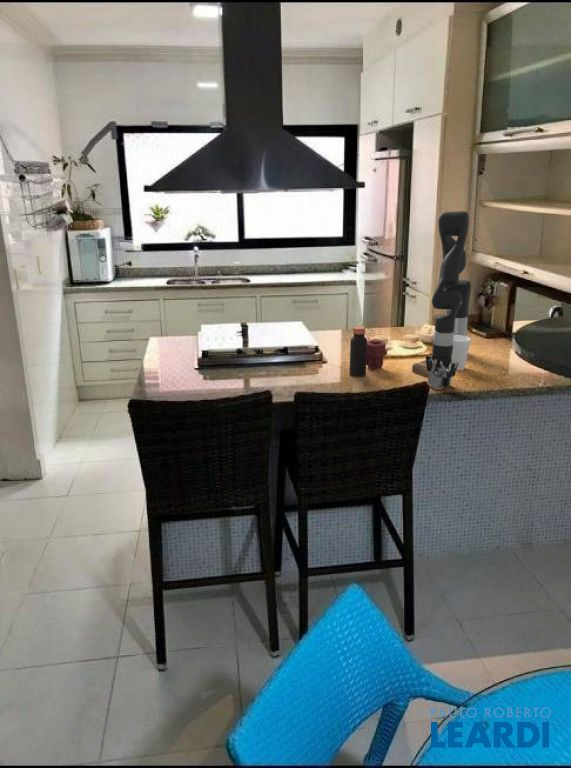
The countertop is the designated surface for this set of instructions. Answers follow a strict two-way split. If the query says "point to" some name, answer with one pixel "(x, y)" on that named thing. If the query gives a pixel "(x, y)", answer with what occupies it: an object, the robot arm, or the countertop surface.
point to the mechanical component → (375, 354)
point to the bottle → (358, 352)
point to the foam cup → (460, 350)
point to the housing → (437, 379)
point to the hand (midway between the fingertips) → (439, 384)
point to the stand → (421, 368)
